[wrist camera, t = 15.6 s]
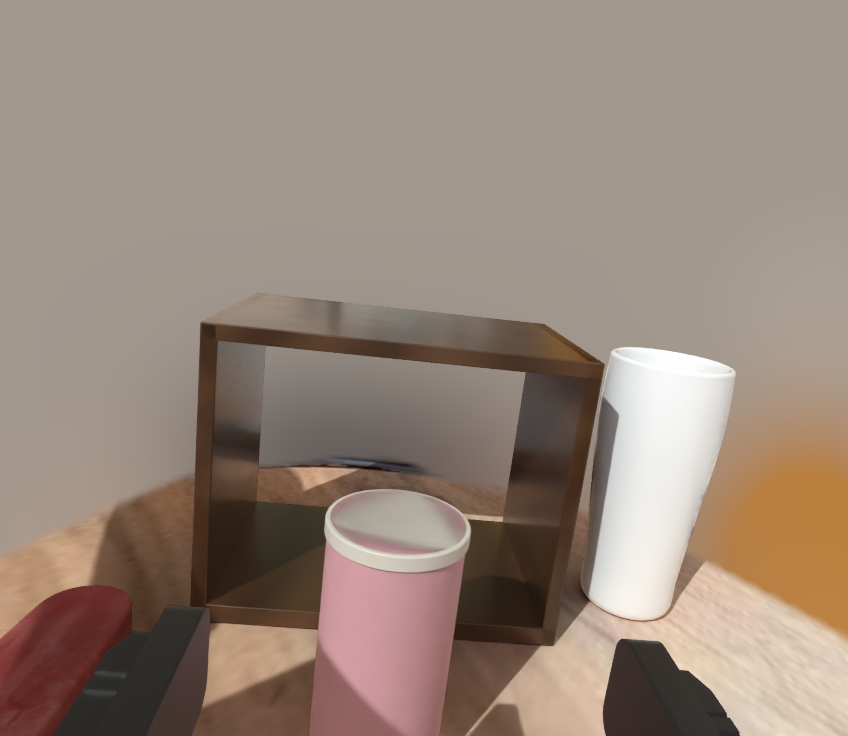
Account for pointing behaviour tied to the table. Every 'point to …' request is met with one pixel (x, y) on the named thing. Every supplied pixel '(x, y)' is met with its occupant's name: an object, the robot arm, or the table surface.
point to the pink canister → (387, 614)
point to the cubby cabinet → (304, 525)
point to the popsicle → (57, 656)
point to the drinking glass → (650, 474)
